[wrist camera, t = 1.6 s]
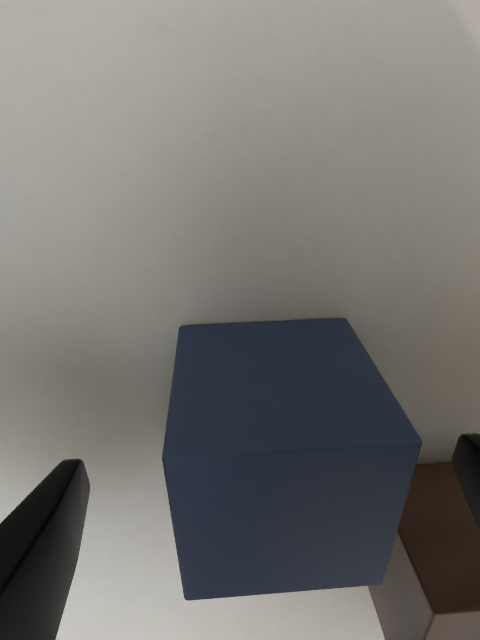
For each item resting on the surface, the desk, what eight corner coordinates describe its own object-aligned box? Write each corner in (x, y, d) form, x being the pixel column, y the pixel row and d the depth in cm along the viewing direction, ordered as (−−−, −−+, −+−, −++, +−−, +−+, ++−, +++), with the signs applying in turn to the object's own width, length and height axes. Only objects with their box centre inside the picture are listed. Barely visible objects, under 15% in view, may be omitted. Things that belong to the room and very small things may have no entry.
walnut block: (463, 537, 16) (545, 678, 12) (354, 546, 16) (401, 692, 12) (495, 458, 14) (607, 599, 10) (369, 467, 14) (433, 614, 10)
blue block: (331, 438, 13) (384, 585, 9) (192, 447, 13) (183, 602, 9) (346, 317, 11) (424, 441, 7) (178, 324, 11) (160, 458, 7)
